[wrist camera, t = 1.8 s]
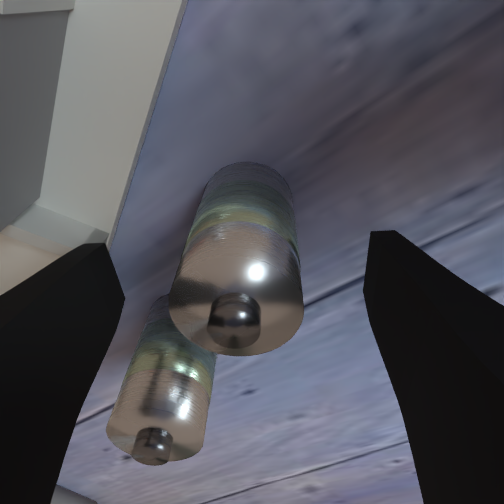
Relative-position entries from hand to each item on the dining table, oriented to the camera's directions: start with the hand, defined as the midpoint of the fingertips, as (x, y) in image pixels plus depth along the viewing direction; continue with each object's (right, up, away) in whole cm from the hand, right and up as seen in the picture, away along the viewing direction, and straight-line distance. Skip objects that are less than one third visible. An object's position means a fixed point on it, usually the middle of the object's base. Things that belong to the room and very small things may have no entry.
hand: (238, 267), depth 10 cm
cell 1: (-3, -3, +6) cm, 7 cm away
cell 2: (0, +2, +3) cm, 4 cm away
